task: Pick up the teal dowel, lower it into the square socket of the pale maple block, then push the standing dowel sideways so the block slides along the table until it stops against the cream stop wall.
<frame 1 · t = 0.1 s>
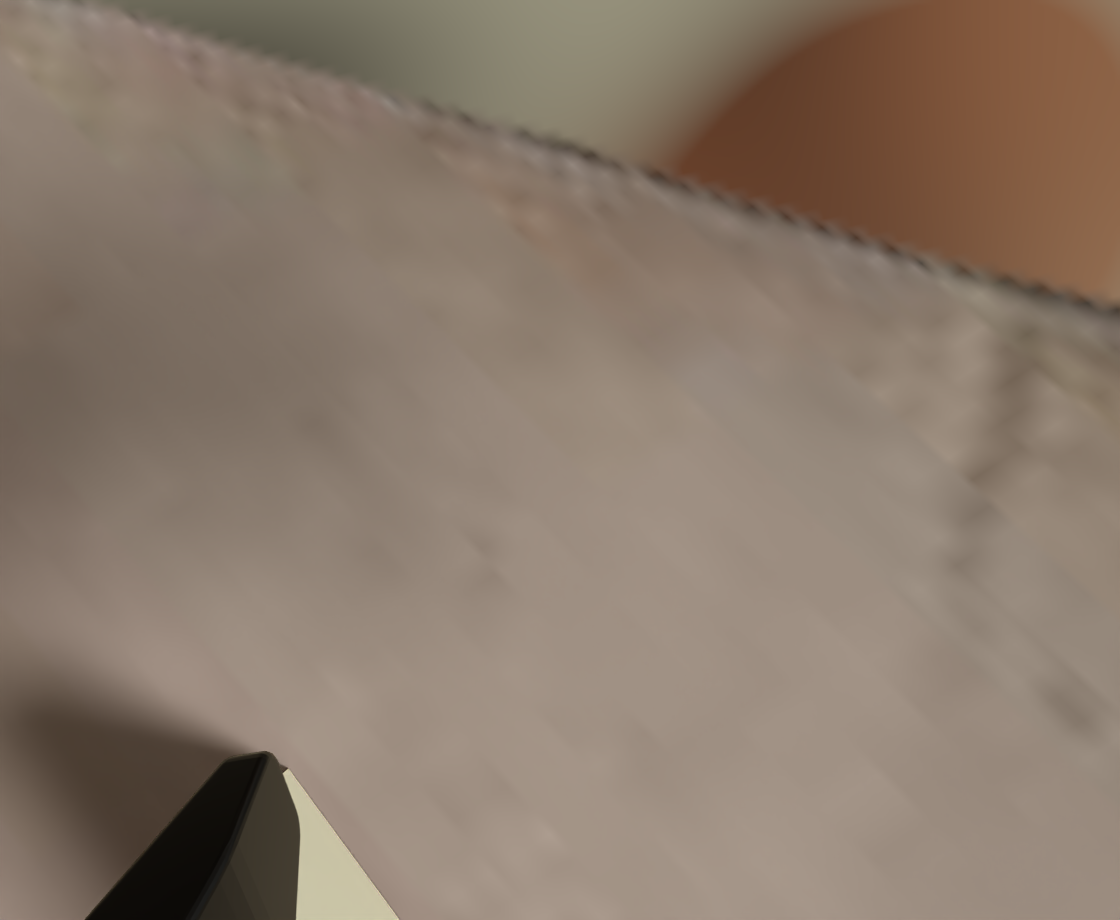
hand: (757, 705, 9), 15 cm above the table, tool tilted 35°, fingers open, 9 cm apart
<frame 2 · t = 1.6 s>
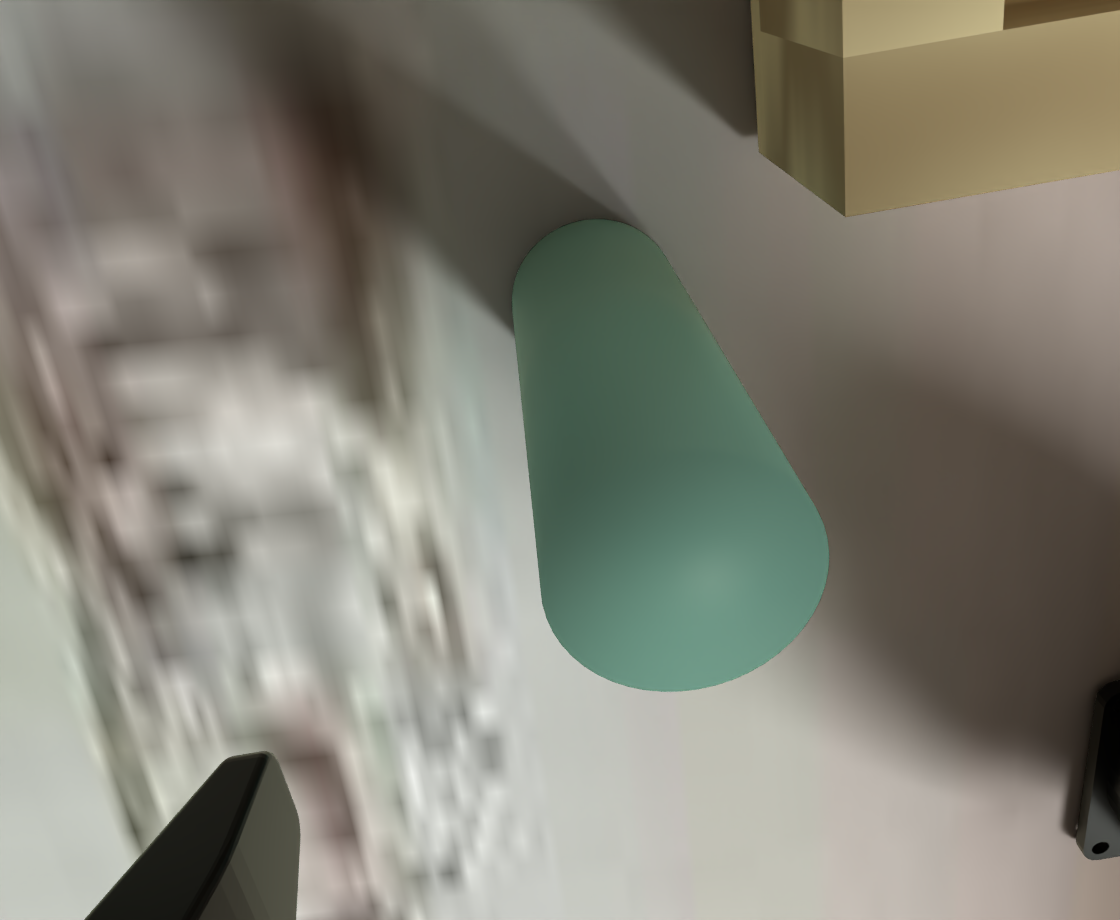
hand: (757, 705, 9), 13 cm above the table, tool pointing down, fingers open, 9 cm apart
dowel: (594, 301, 20), on the table
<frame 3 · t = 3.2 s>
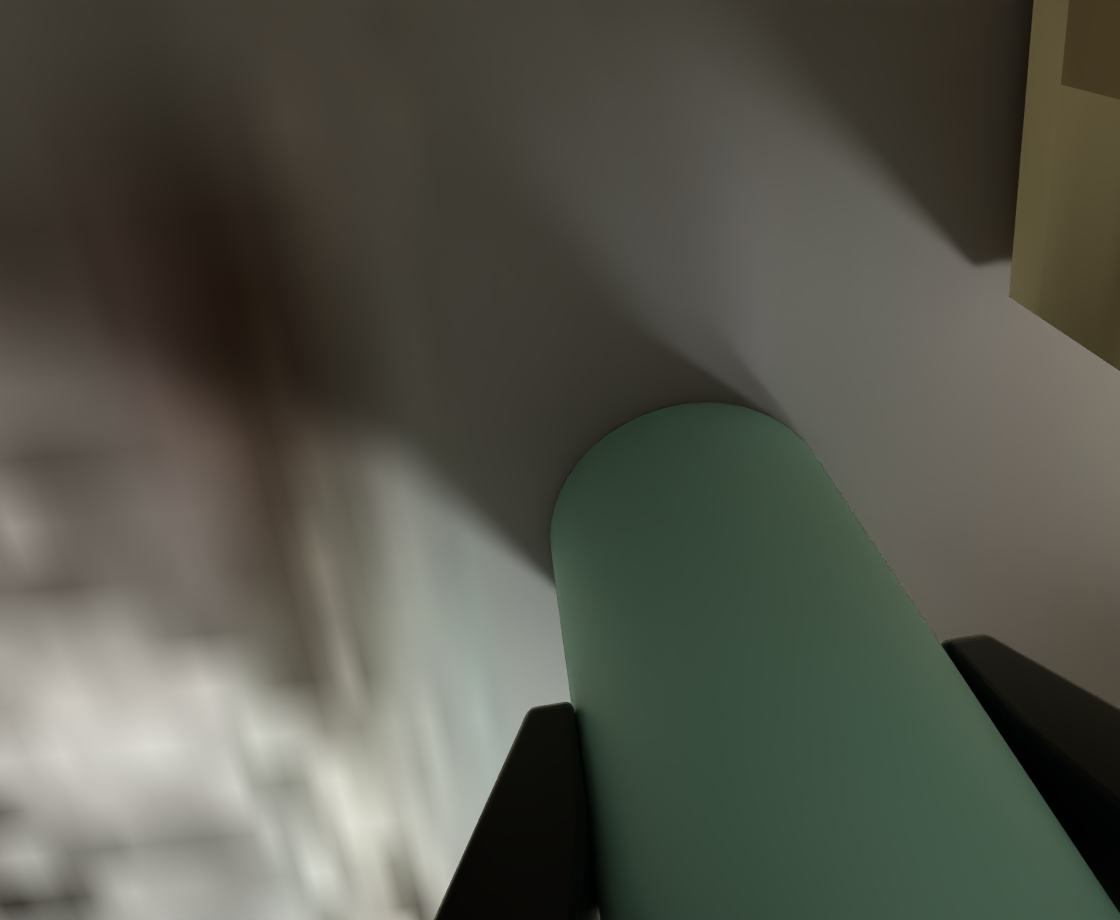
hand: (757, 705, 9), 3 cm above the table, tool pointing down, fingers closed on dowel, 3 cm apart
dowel: (691, 531, 12), on the table, touching gripper
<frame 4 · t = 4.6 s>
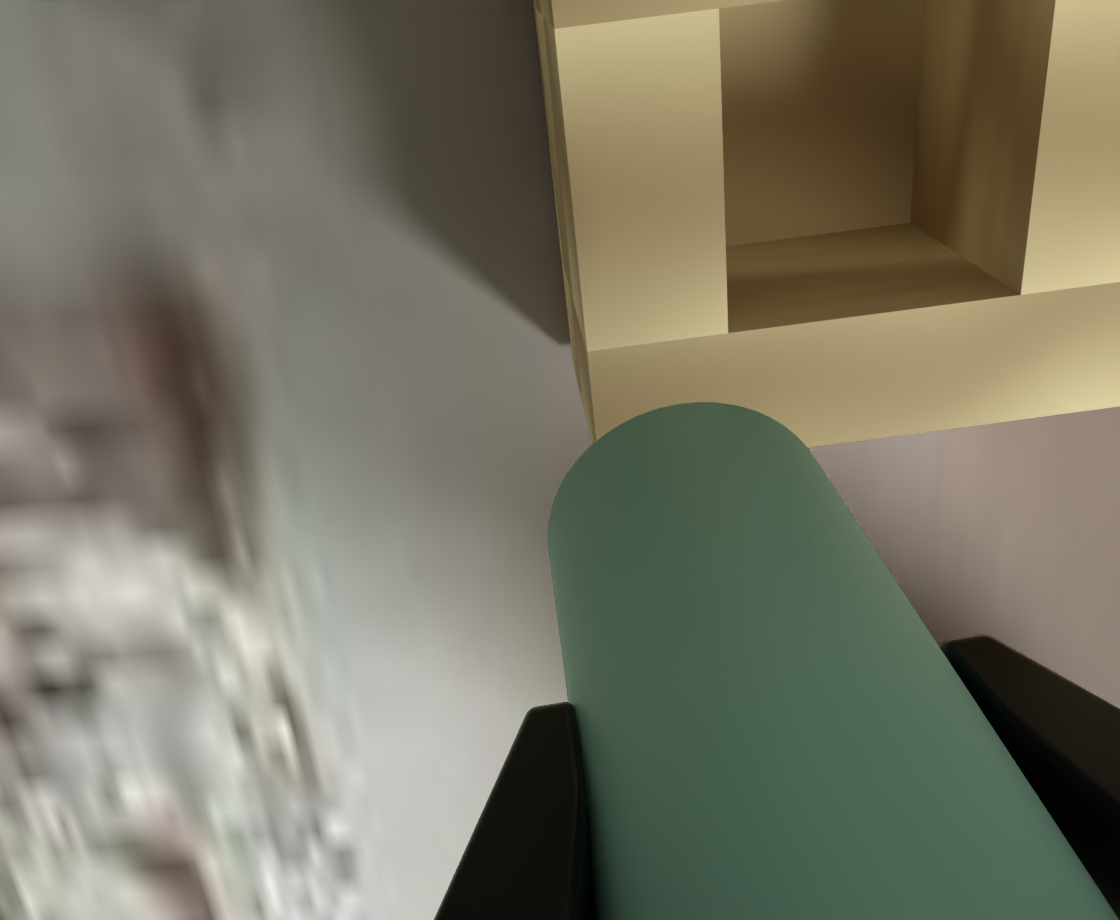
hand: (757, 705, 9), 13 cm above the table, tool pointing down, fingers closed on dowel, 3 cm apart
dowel: (689, 531, 12), point 10 cm above the table, touching gripper
block: (826, 132, 16), point 3 cm above the table, slide at 0.0 cm
when the fingers open (6 cm above the table, at t = 6.3 s): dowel drops 3 cm, resting on block.
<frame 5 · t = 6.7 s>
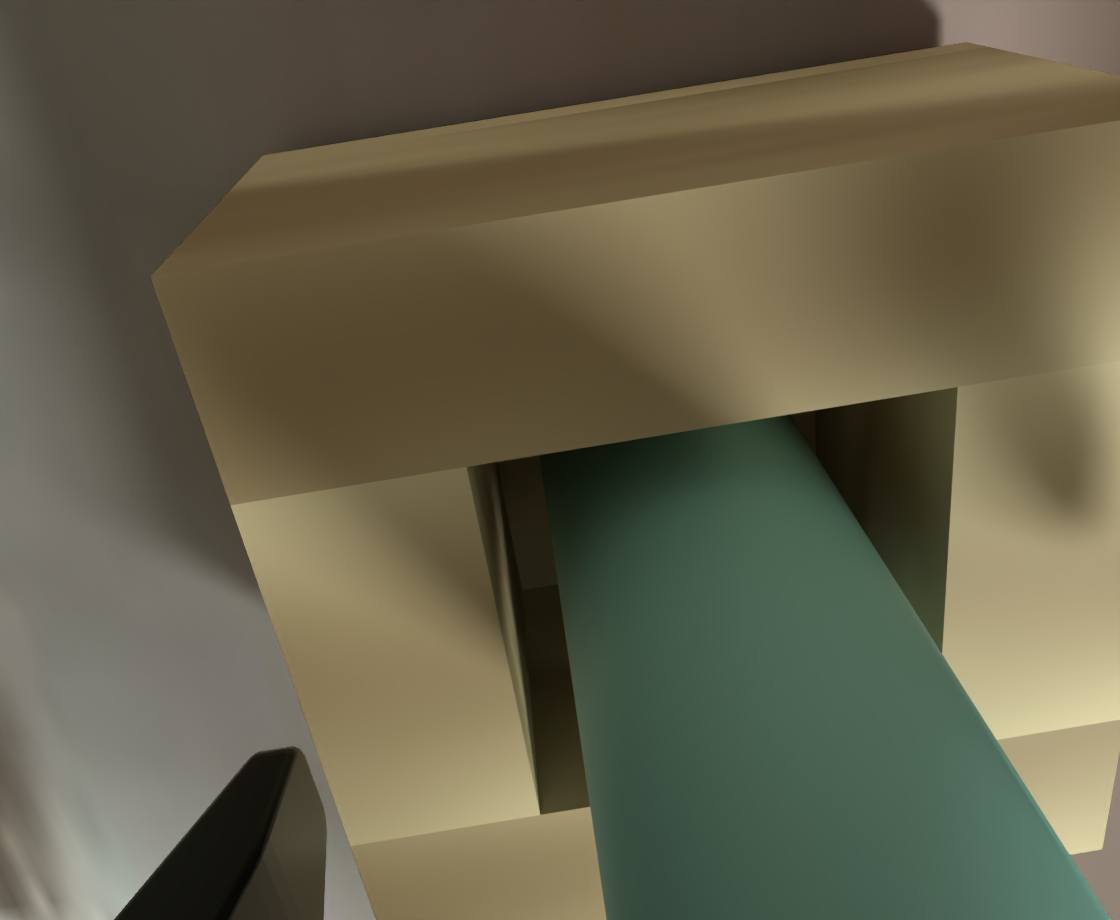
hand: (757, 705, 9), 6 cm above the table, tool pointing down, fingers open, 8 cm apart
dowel: (657, 434, 14), point 1 cm above the table, touching block
block: (681, 501, 12), point 3 cm above the table, slide at 0.0 cm, touching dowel
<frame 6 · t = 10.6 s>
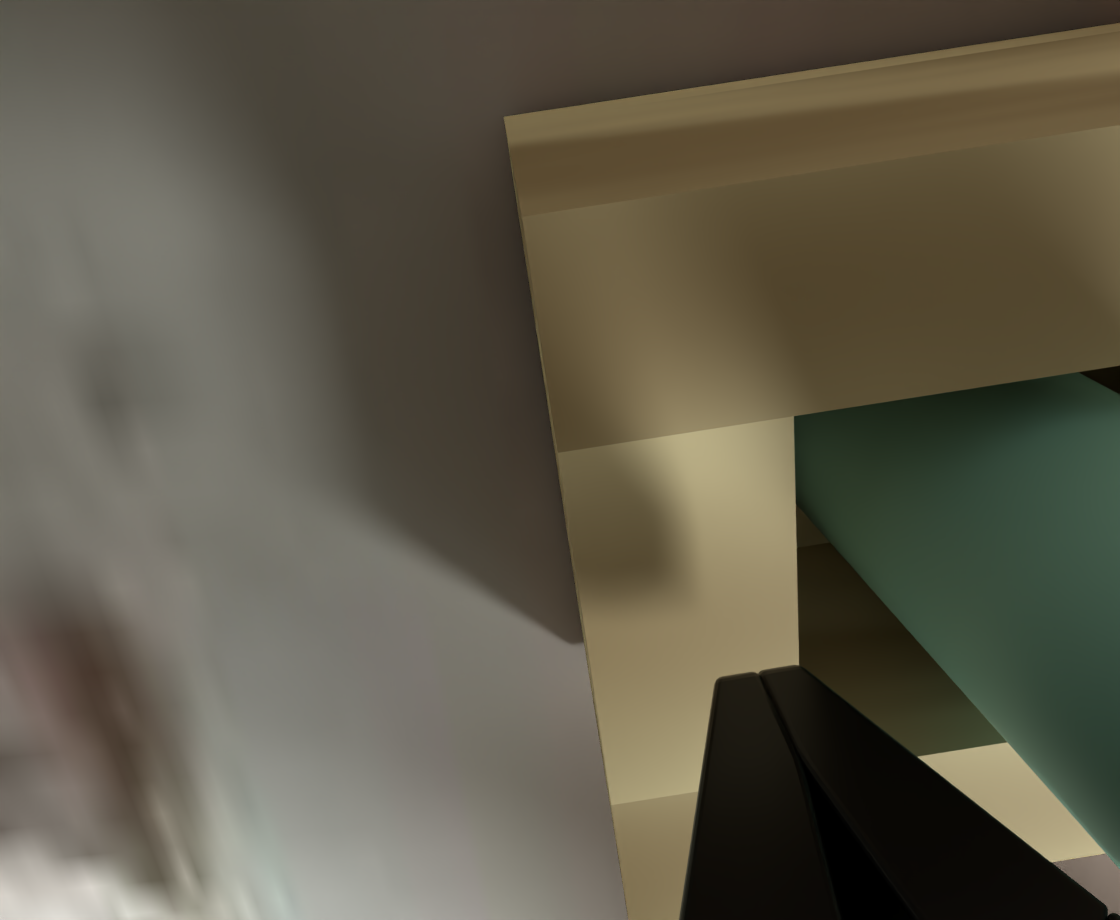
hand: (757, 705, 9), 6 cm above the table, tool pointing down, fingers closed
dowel: (874, 407, 14), point 1 cm above the table, tilted 8°, touching block, gripper
block: (920, 465, 12), point 3 cm above the table, slide at 0.1 cm, touching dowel
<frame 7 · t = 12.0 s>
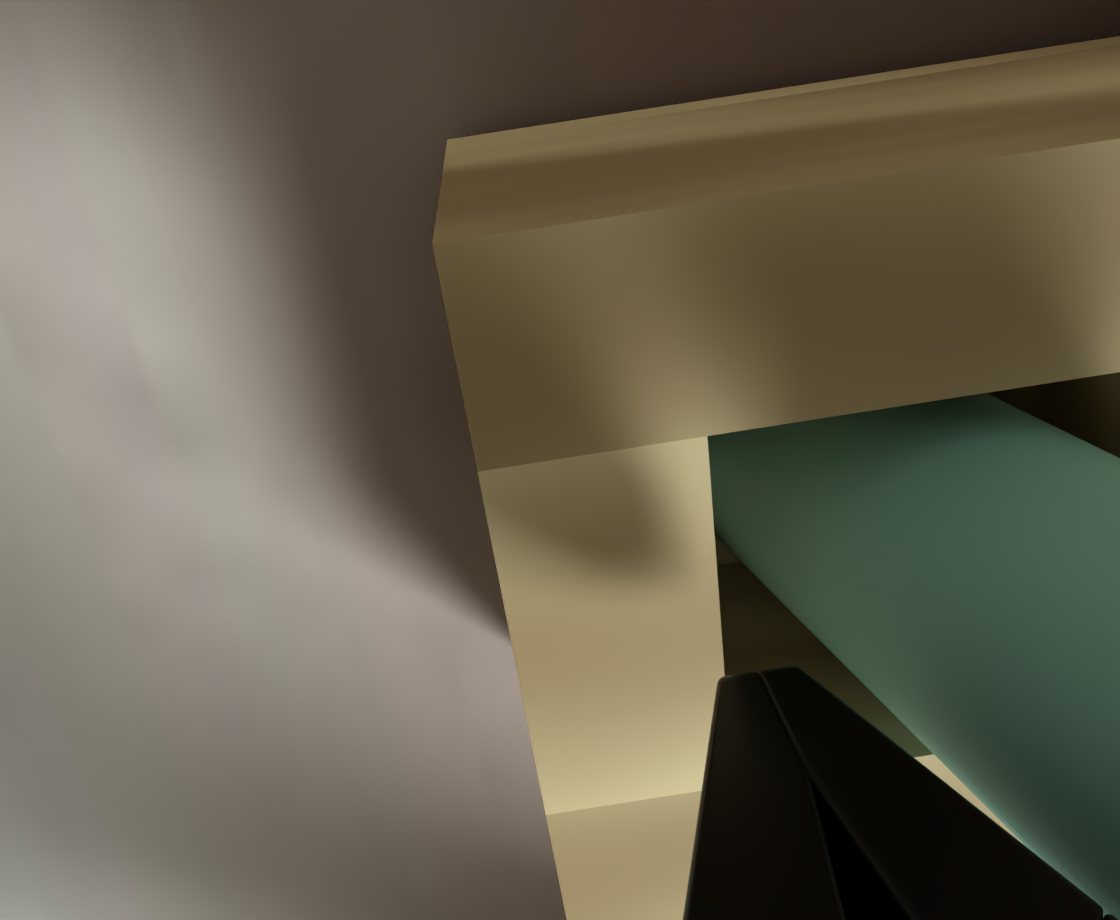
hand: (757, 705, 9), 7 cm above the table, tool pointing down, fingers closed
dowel: (783, 432, 14), point 1 cm above the table, tilted 15°, touching block, gripper
block: (856, 481, 13), point 3 cm above the table, slide at 6.0 cm, touching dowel
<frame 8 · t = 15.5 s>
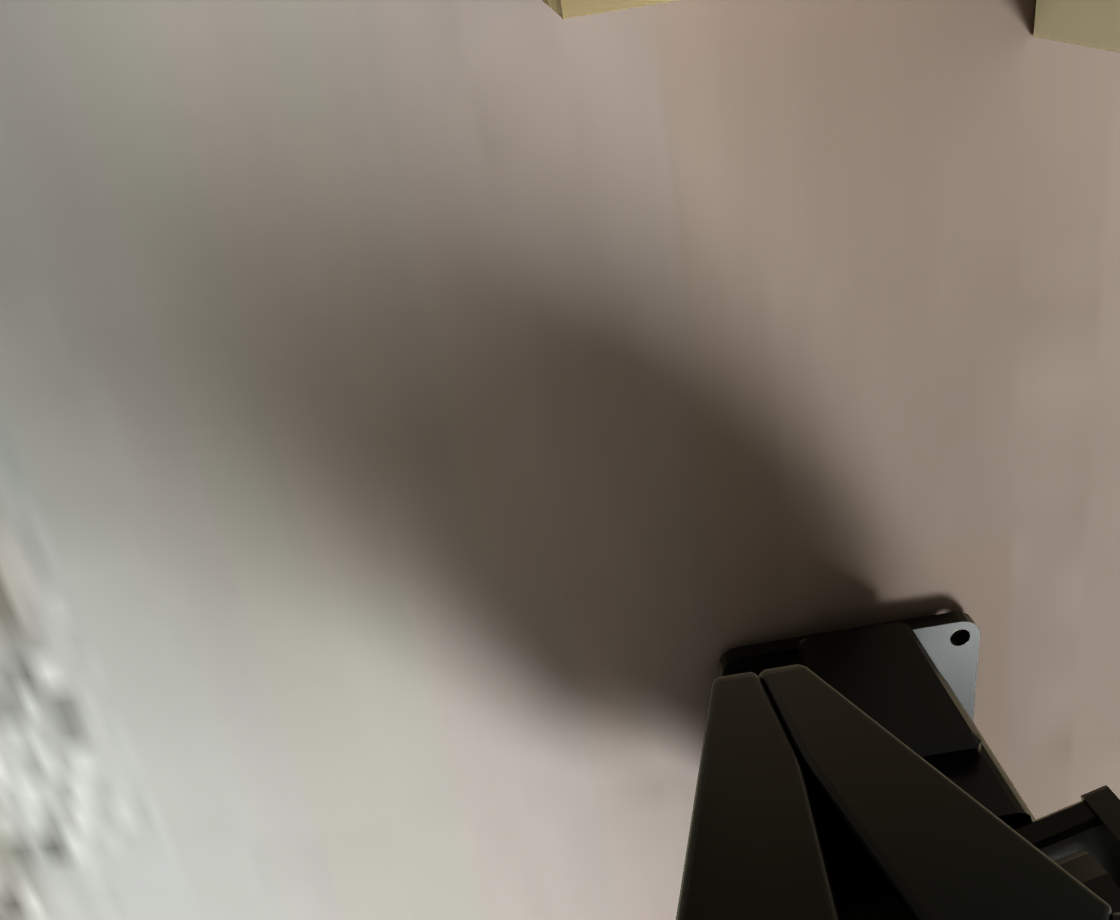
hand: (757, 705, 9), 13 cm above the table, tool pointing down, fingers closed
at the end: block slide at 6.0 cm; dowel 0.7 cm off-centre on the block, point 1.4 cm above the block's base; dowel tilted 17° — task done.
